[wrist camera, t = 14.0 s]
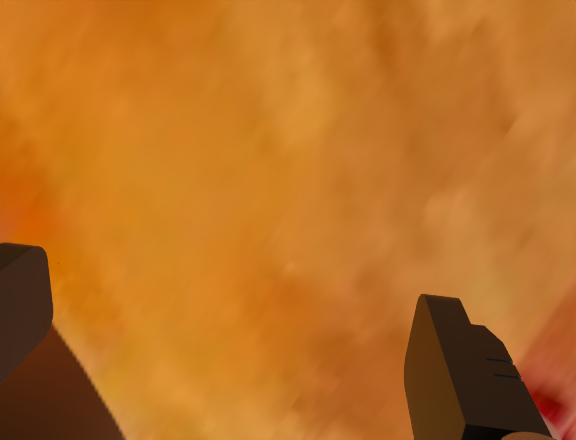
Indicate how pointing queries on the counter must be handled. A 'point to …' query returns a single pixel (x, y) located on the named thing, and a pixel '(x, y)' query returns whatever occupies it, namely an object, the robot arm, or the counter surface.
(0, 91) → the counter surface
